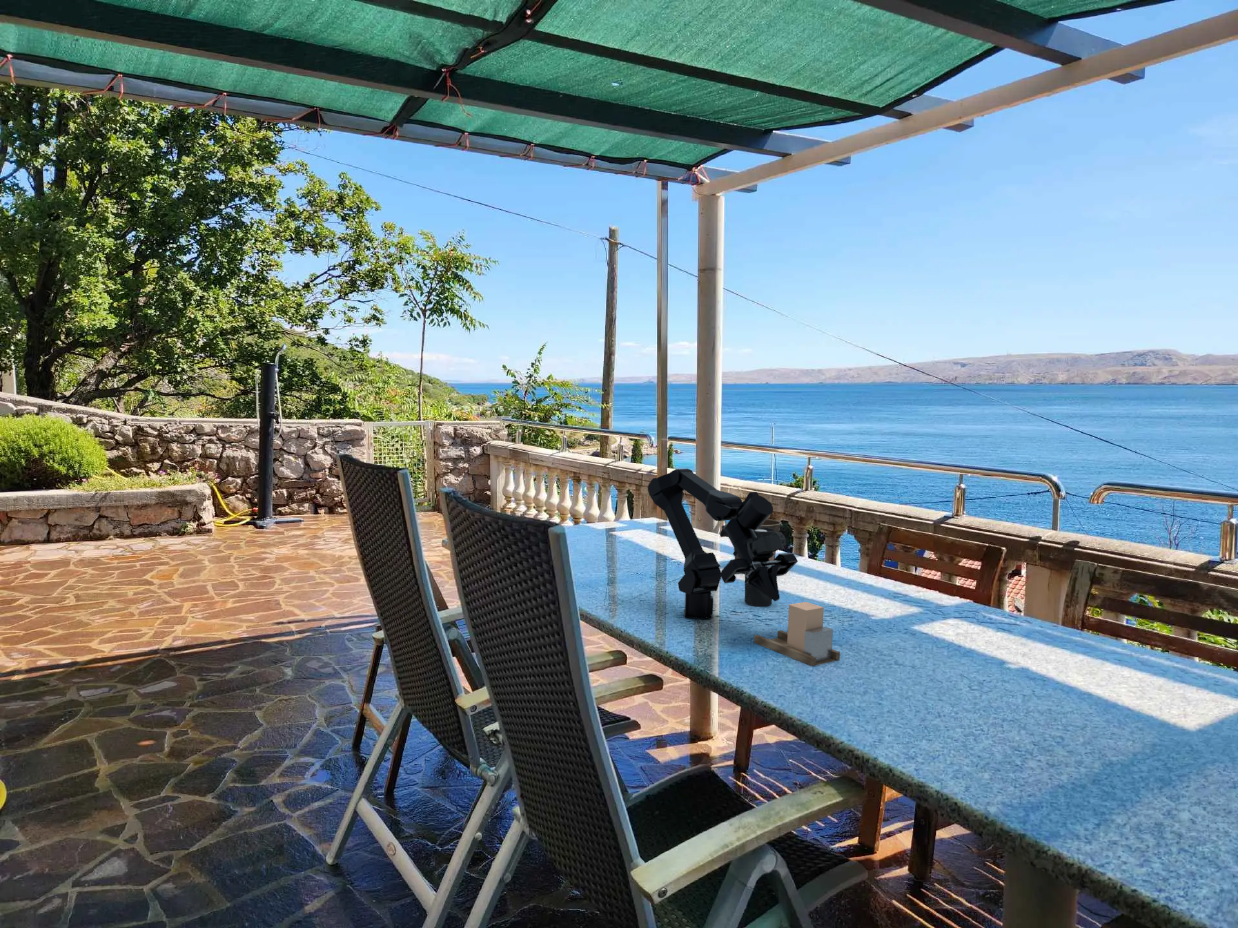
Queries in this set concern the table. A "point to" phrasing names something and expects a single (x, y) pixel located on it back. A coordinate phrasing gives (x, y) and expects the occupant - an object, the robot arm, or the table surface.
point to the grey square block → (819, 643)
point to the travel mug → (751, 593)
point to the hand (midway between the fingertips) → (777, 599)
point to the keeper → (802, 623)
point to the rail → (791, 649)
